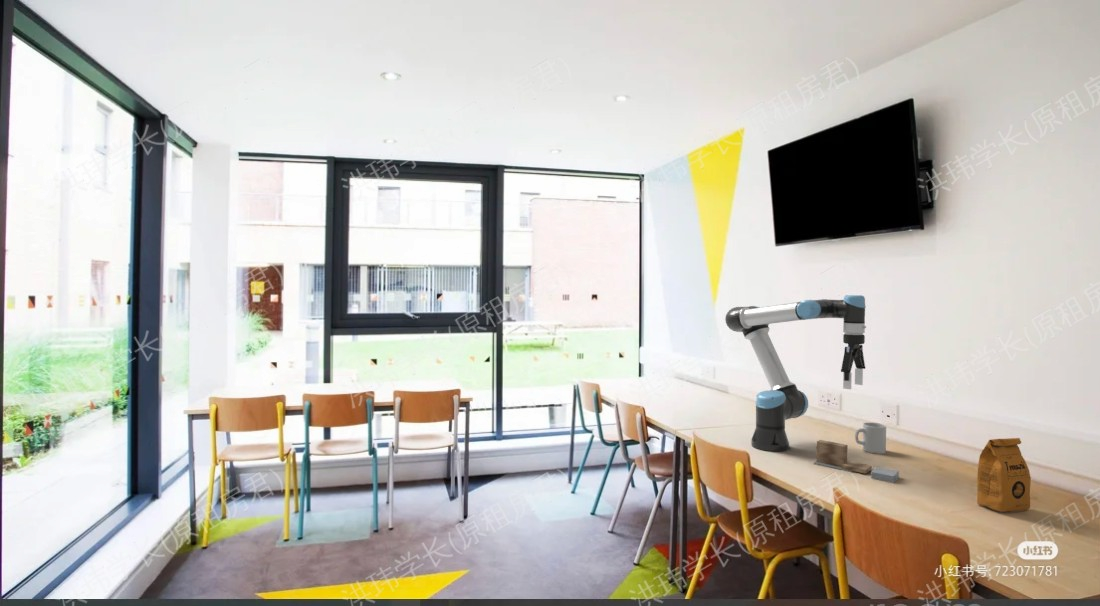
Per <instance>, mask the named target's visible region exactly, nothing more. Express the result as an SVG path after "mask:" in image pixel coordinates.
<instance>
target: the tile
mask: <svg viewBox="0 0 1100 606" xmlns="http://www.w3.org/2000/svg"><path fill="white" fill-rule="evenodd" d="M899 475H900V470H896V469H890V468H885V467H881V466H876V467H875V468H874V469H872V470H871V471H870V478H871V479H873V480H878V481H882V482H887V483H892V484H894V483H895V482H896V481H897V480H898V479H899V478H900V476H899Z"/></svg>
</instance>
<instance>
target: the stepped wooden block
mask: <svg viewBox="0 0 1100 606" xmlns="http://www.w3.org/2000/svg"><path fill="white" fill-rule="evenodd" d="M816 461H817V462H820V463H824V464H829V465H834V466H838V467H842V469H846V470H850V471H853V472H855V473H861V474H868V473H869V472H871V471H873V465H871V464H866V463H862V462H857V461H852V460H848V444H845V443H839V442H834V441H830V440H829V441H828V440H823V439H819V440H817V441H816Z"/></svg>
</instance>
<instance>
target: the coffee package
mask: <svg viewBox="0 0 1100 606" xmlns="http://www.w3.org/2000/svg"><path fill="white" fill-rule="evenodd" d="M1021 444H1022V441H1021V438H1019V437H1016V438H1015V437H1012V438H1010V437H1009V438H994V439H993V438H991V439H989V440H988V442H986V444H985V445H984V448H983V449H982V451H981V453H980V454H979V458H978V464H977V465H978V466H977V475H976V476H977V480H976V481H977V485H976V487H977V491H976V493H977V497H976V498H977V501H976V502H977V505H978V506H981V507H982V506H983V507H985V508H989V509H991V510H993V511H997V512H1001V513H1002V512H1024V511H1025V510H1027V511H1029V509H1030V508H1031V481H1032V480H1031V473H1030V469H1029V467H1028V464H1027V462H1026V460H1025V458H1024V457H1023V454H1022V451H1021V449H1020V447H1019V446H1018V445H1021ZM1025 512H1026V511H1025Z"/></svg>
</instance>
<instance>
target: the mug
mask: <svg viewBox="0 0 1100 606" xmlns="http://www.w3.org/2000/svg"><path fill="white" fill-rule="evenodd" d="M860 433H862V440H859V434H860ZM854 434H855V435H854V437H855V439H854V440H855V443H856V444H858V445H861V446H862V450H863V451H864V452H867V453H870V454H874V455H875V454H878V455H880V454H883V455H884V454H886V453H887V425H885V424H883V423H877V422H864V423H863V424H862V427H859V428H857V429H856V431H855V433H854Z"/></svg>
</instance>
